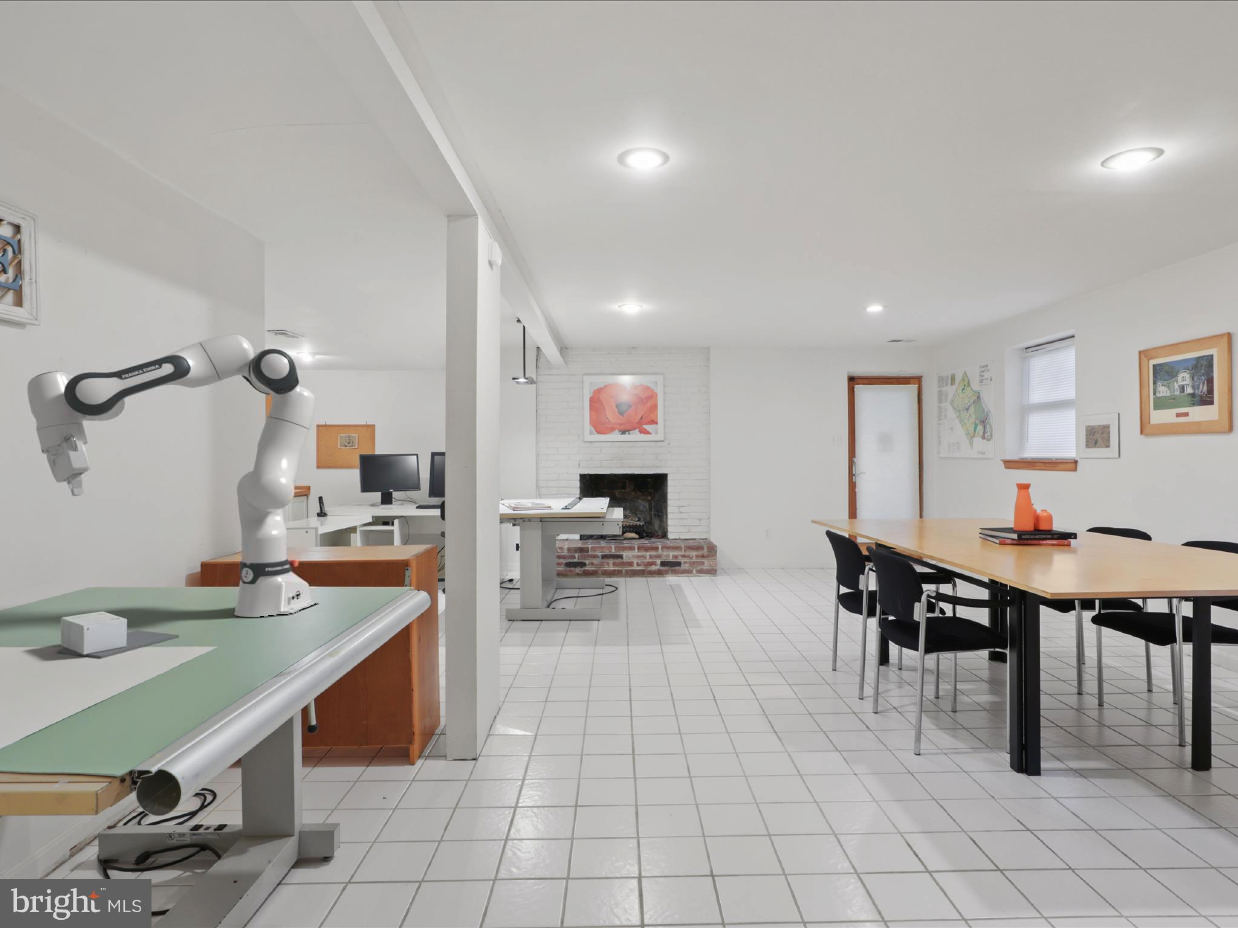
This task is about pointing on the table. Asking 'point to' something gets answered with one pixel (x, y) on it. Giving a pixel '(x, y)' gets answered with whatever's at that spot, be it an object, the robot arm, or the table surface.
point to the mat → (128, 643)
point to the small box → (93, 632)
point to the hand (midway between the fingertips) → (78, 495)
